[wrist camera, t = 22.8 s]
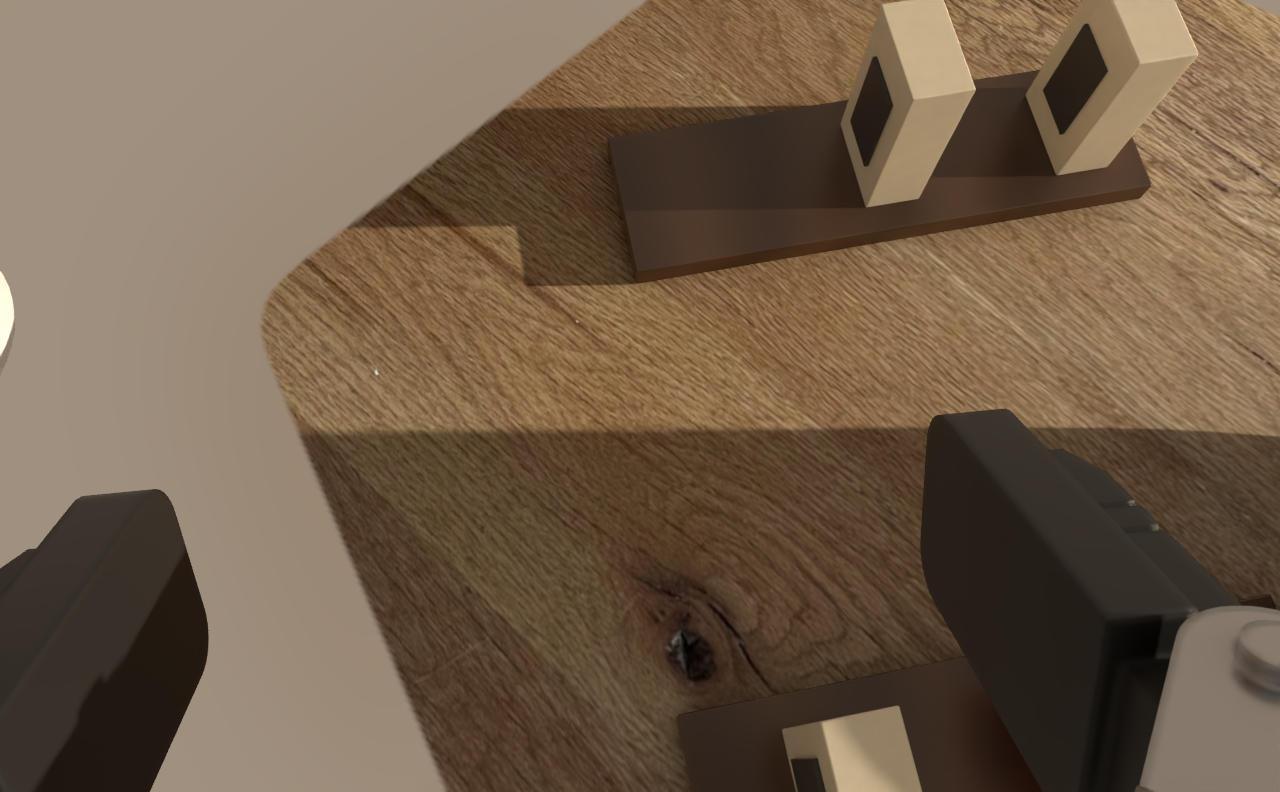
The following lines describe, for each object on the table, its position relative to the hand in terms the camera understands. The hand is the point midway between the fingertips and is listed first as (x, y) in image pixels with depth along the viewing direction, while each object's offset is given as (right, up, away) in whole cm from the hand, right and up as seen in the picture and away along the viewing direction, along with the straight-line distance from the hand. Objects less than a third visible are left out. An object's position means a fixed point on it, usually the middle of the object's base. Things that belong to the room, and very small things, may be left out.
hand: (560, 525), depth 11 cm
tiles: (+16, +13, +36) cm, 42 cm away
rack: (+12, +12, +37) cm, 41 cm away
